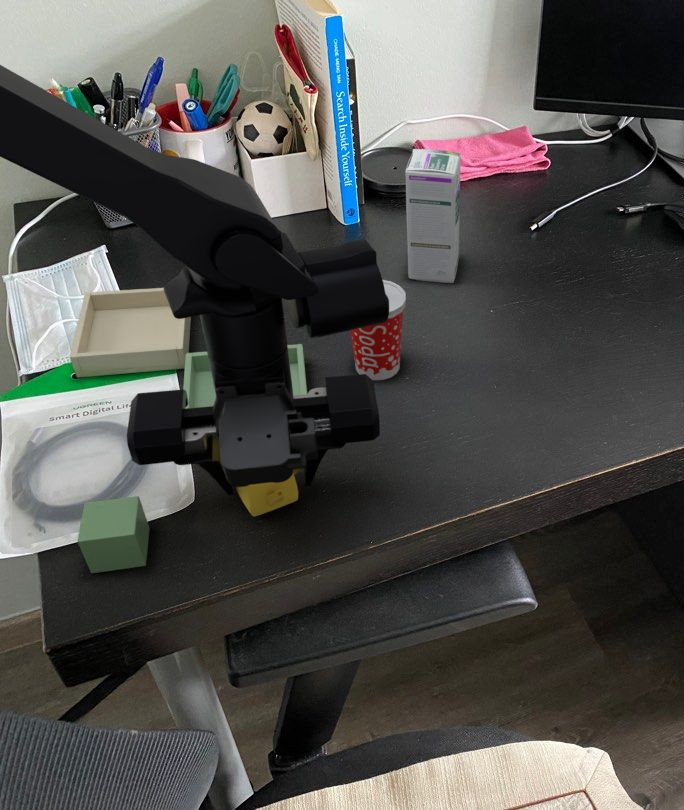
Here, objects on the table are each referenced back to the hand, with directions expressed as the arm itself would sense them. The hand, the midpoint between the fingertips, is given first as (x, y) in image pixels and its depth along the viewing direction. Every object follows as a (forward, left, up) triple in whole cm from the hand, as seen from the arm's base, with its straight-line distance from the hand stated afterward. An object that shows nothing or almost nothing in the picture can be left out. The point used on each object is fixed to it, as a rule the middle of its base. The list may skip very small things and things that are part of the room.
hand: (270, 487), depth 71 cm
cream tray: (-13, +25, -1) cm, 28 cm away
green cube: (-12, -4, -1) cm, 12 cm away
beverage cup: (+11, +17, -1) cm, 20 cm away
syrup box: (+20, +35, -1) cm, 40 cm away
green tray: (-2, +13, -1) cm, 13 cm away
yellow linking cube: (0, 0, -1) cm, 1 cm away
